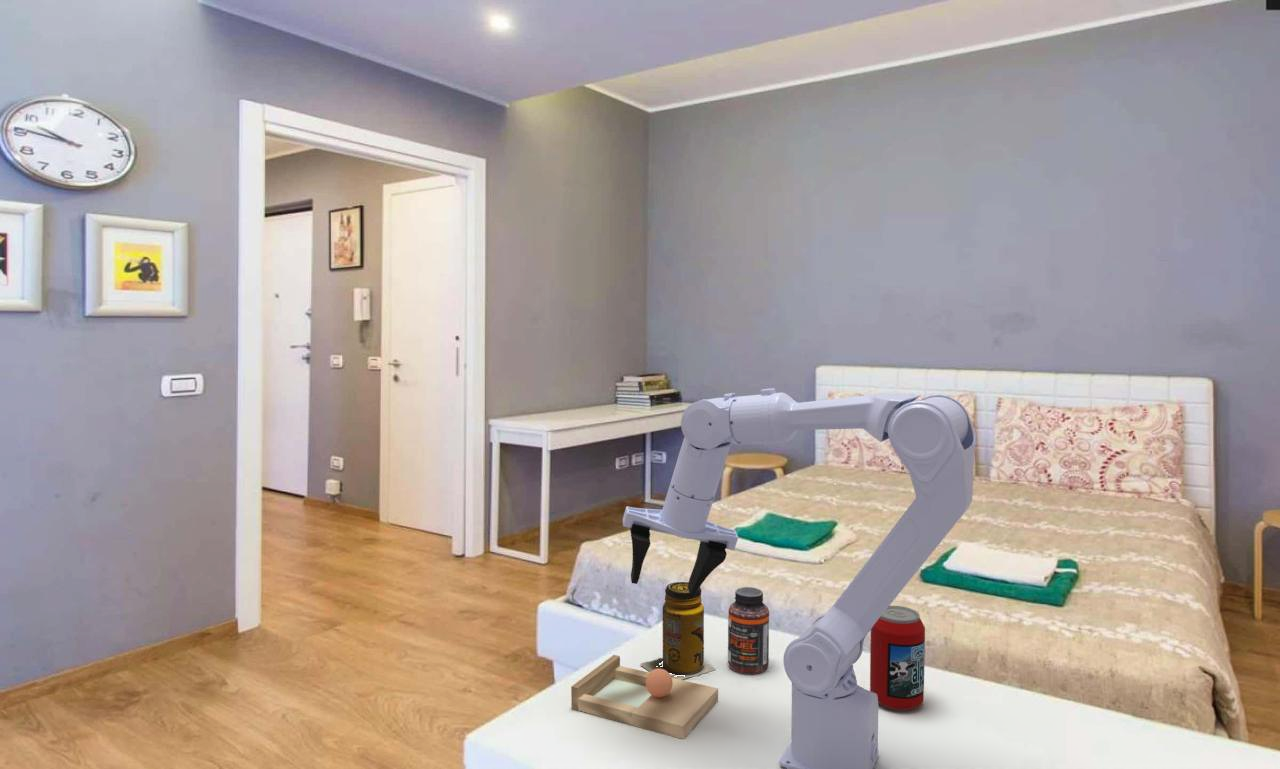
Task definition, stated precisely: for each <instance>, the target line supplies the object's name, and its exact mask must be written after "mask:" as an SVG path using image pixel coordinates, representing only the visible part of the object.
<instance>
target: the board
mask: <svg viewBox="0 0 1280 769" xmlns="http://www.w3.org/2000/svg"><path fill="white" fill-rule="evenodd" d="M649 673H650V671H644V670H639V669H636V668H632V667H628V666H627V667H626V666H622V665H621V656H620V655H617V654H613V655H612V656H610V657H609V658H608V659H606V660H605V661H604V662H602V663H601V664H599V665H598V666H597V667H595V668H594V669H592V670H591V671H590V672H589V673H588V674H586V675H585V676H583V677H582V678H581V679H579V680H578V681H577V682H575V683H574V684H573V685H572V686H571V691H570V693H571V699H570V700H571V710H574V711H578V712H581V711H582V713H585V712H586V714H589V713H590V714H589V715H592V714H593V716H596V717H600V718H604V719H607V720H611V719H612V720H611V721H614V722H615V721H616V722H618V721H619V722H618V723H622V722H623V723H622V724H626V725H631V726H632V727H633V726H634V727H638V728H640V729H641V728H642V729H644V730H648V731H652V732H656V733H659V734H663V735H667V736H671V737H675V738H678V739H682V740H684V739H685V738H686V737H687V736H688V734H689V733H690V732H692V730H693V729H694V728H695V727H696V726H697V724H698V723H699V722H700V721H701V720H702V719H703V717H704V716H705V715H706V714H707V713H708V712H709V711H710V710H711V709H712V708H713V706H714V705H715V704H716V703H717V702H718V701H719V688H717V687H713V686H710V685H704V684H701V683H696V682H692V681H687V680H685V679H682V680H680V679H675V678H672V682H673V685H672V689H671V691H670V692H669V693H668V694H667V695H666V696H664V697H654V696H652V695H651V694H650V693H649V692H648V690H647V688H646V678H647V676H648V674H649Z"/></svg>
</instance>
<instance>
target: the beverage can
mask: <svg viewBox="0 0 1280 769" xmlns="http://www.w3.org/2000/svg"><path fill="white" fill-rule="evenodd" d="M920 617H921V615H920V613H919V612H917V611H916V610H914V609H913V608H910V607H906V606H902V605H890V606H889V607H888V608H887V609H886V611H885V612H884V613H883V614H882V615H881V617H880V618H879V619H878V620H877V622H876V623H875V624H874V626H873V627H872V629H871V630H870V649H869V650H870V651H869V652H870V656H869V657H870V658H869V660H870V661H869V674H870V675H869V691H871V692H874V693H876V694H877V697H878V704H880V705H881V706H883V707H884V708H887V709H890V710H895V711H909V710H913V709H914V708H917V707H919V706H921V705H922V704H923V702H924V693H925V691H924V690H925V661H926V660H925V657H926V656H925V655H926V651H925V650H926V628H925V625H924V623H923V622H922V619H921V618H920Z"/></svg>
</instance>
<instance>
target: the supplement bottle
mask: <svg viewBox="0 0 1280 769" xmlns="http://www.w3.org/2000/svg"><path fill="white" fill-rule="evenodd" d="M734 595H735V597H734V599H735V601H734V602H732V603H731V604H730V605H729V608H728V614H727V615H728V616H727V619H728V621H727V624H728V625H727V665H728V666H729V667H730V668H731V669H732V670H733V671H735V672H738V673H740V674H745V675H746V674H747V675H756V674H759V673H762V672H765V671H766V670H767V669H768V667H769V658H770V657H769V652H770V649H769V648H770V646H769V643H770V611H769V610H770V609H769V607H768V606H767V605H766V604H765V603H764V602H763V601H764V592H763V591H762V589H760V588H757V587H753V586H744V587H739V588H736V589H735V594H734Z"/></svg>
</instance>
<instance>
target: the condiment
mask: <svg viewBox="0 0 1280 769" xmlns="http://www.w3.org/2000/svg"><path fill="white" fill-rule="evenodd" d="M688 583H689V581H676V582H671V583H669V584H667V585H666V586H665V590H664V592H665V596H664V600H665V601H664V603H663V605H662V657H660V658H657V659H653V660H650V661H645V662H642V663H640V666H642V667H643V668H644V669H646V671H648V672H649V673H650V672H651V671H652V670H654V669H664V670H666V671H667V672H668V673H672V674H675V675H685V677H684V676H677V677H674V676H675V675H671V677H672V678H675V679H680V680H685V679H688V678H693V677H696V676H699V675H703V674H706V673H708V672H712V671H714V670H716V669H717V668H716V667H714V666H712V665H710V664H708V663H706V662H704V661H705V658H704V657H705V647H704V646H705V633H704V632H705V628H704V627H705V626H704V624H705V622H704V621H705V612H704V611H705V607H704V605H703V602H702V601H703V600H702V587H701V586H700V587H699V589H698V591H697V592H696V594H695V596H692V595H690V594H689V590H688ZM662 661H663V667H660V666H662V664H661V665H659V663H661V662H662ZM656 666H658V667H656Z"/></svg>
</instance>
